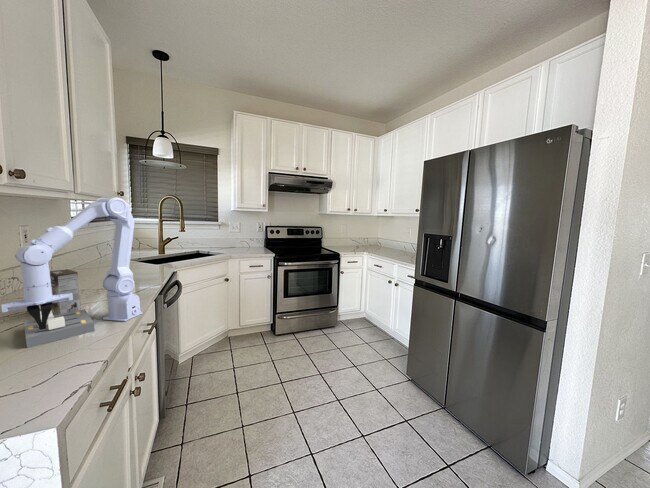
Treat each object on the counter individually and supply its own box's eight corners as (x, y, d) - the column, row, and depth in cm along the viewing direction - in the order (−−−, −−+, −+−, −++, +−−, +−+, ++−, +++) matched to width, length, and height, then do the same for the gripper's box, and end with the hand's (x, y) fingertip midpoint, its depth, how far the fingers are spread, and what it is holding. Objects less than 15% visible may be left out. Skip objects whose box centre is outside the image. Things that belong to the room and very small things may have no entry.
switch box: (85, 316, 99) (84, 309, 99) (94, 330, 88) (93, 322, 88) (25, 330, 88) (24, 321, 88) (27, 348, 77) (25, 337, 77)
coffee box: (50, 312, 103) (45, 271, 101) (71, 307, 108) (67, 268, 106) (60, 317, 99) (55, 274, 97) (82, 311, 104) (78, 271, 102)
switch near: (63, 323, 86) (63, 316, 86) (65, 326, 84) (64, 318, 84) (47, 326, 83) (47, 319, 83) (48, 329, 81) (48, 322, 81)
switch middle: (53, 320, 88) (52, 313, 88) (54, 323, 86) (53, 316, 86) (37, 323, 85) (36, 316, 85) (37, 326, 83) (37, 319, 83)
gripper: (-2, 293, 71) (5, 341, 73) (72, 282, 82) (76, 324, 84) (-1, 287, 76) (5, 333, 78) (69, 278, 87) (73, 318, 89)
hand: (42, 328), depth 81 cm, fingers closed
